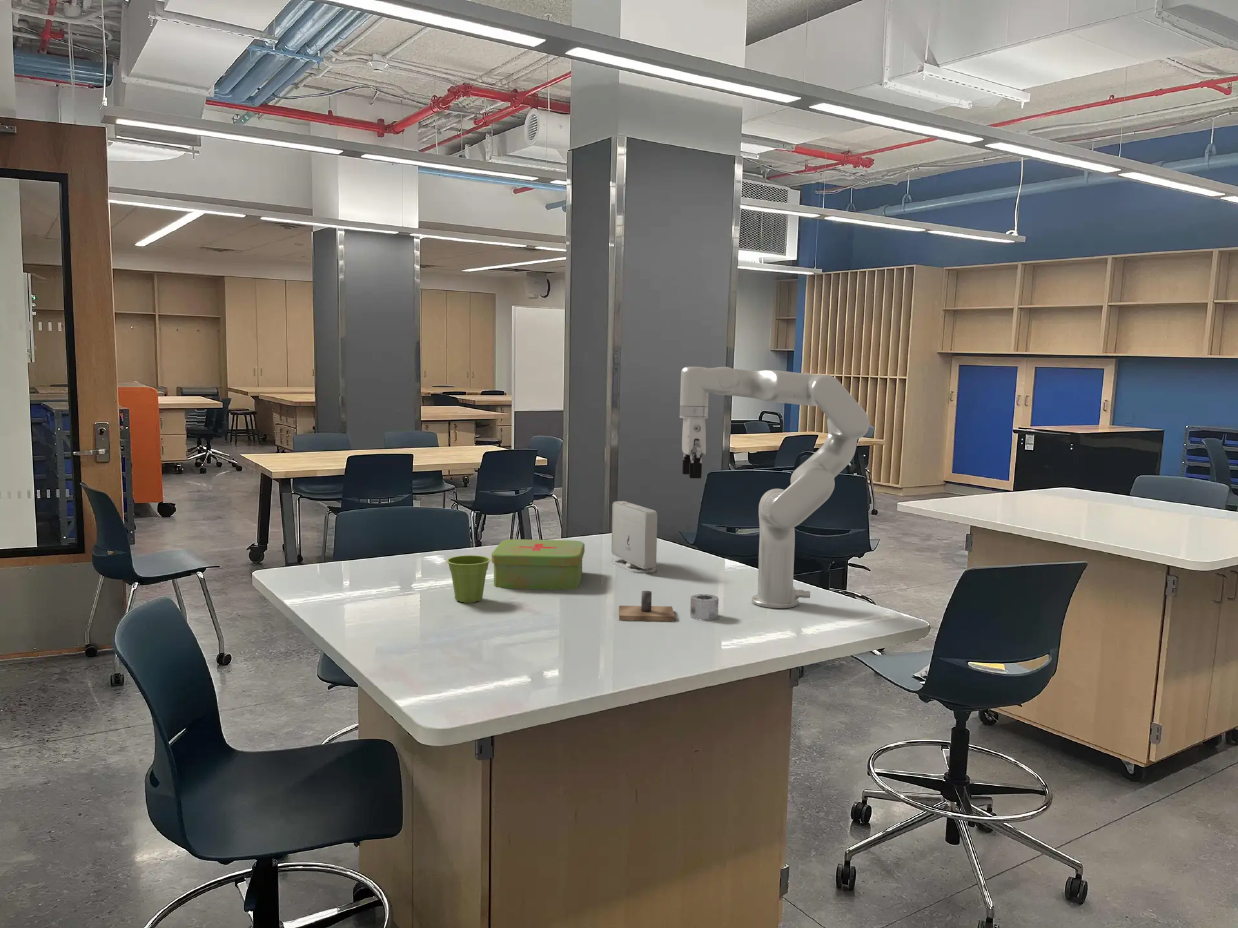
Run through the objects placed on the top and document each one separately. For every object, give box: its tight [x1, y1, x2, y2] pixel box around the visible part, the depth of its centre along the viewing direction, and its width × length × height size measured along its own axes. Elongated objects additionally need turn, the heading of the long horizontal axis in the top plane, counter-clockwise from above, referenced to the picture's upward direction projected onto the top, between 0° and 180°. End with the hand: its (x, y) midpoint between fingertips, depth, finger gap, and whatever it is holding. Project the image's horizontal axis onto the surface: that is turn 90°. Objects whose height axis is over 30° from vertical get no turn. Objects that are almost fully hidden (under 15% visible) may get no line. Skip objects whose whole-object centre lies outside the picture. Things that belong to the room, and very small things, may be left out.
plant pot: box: [446, 554, 492, 604], centre depth 244 cm, size 12×12×11 cm
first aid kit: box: [491, 538, 586, 590], centre depth 271 cm, size 26×26×10 cm
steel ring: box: [689, 593, 719, 621], centre depth 232 cm, size 7×7×5 cm
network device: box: [611, 500, 658, 574], centre depth 291 cm, size 26×9×20 cm, turn 25°
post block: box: [618, 590, 676, 622], centre depth 232 cm, size 14×10×6 cm
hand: (691, 476), depth 242 cm, fingers open, 9 cm apart
